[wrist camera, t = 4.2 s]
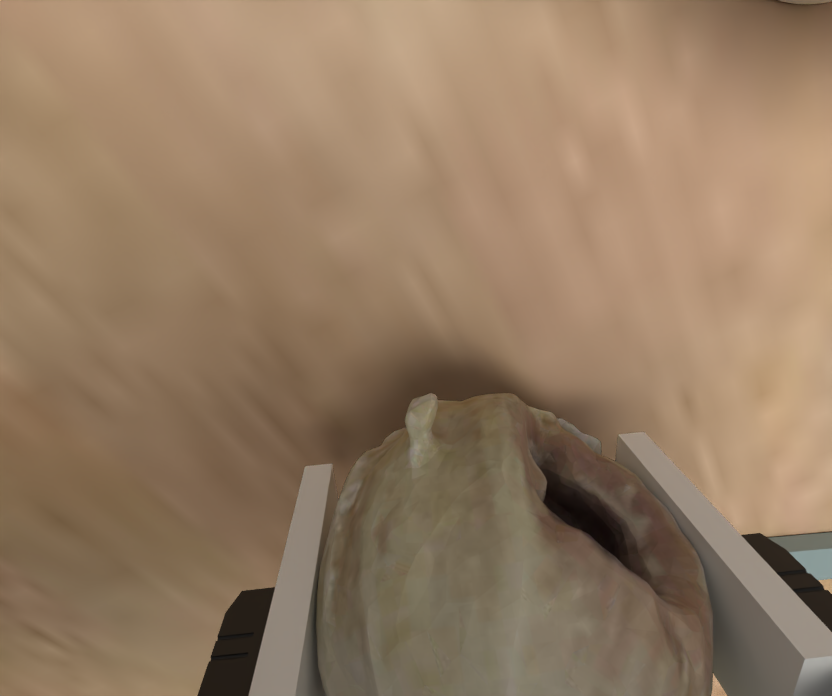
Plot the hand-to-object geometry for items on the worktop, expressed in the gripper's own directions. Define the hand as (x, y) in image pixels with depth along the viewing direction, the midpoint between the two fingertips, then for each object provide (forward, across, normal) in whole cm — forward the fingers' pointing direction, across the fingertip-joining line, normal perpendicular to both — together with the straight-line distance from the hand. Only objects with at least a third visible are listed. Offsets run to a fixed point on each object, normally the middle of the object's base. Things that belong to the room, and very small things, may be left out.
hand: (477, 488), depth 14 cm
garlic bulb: (+1, 0, 0) cm, 1 cm away
